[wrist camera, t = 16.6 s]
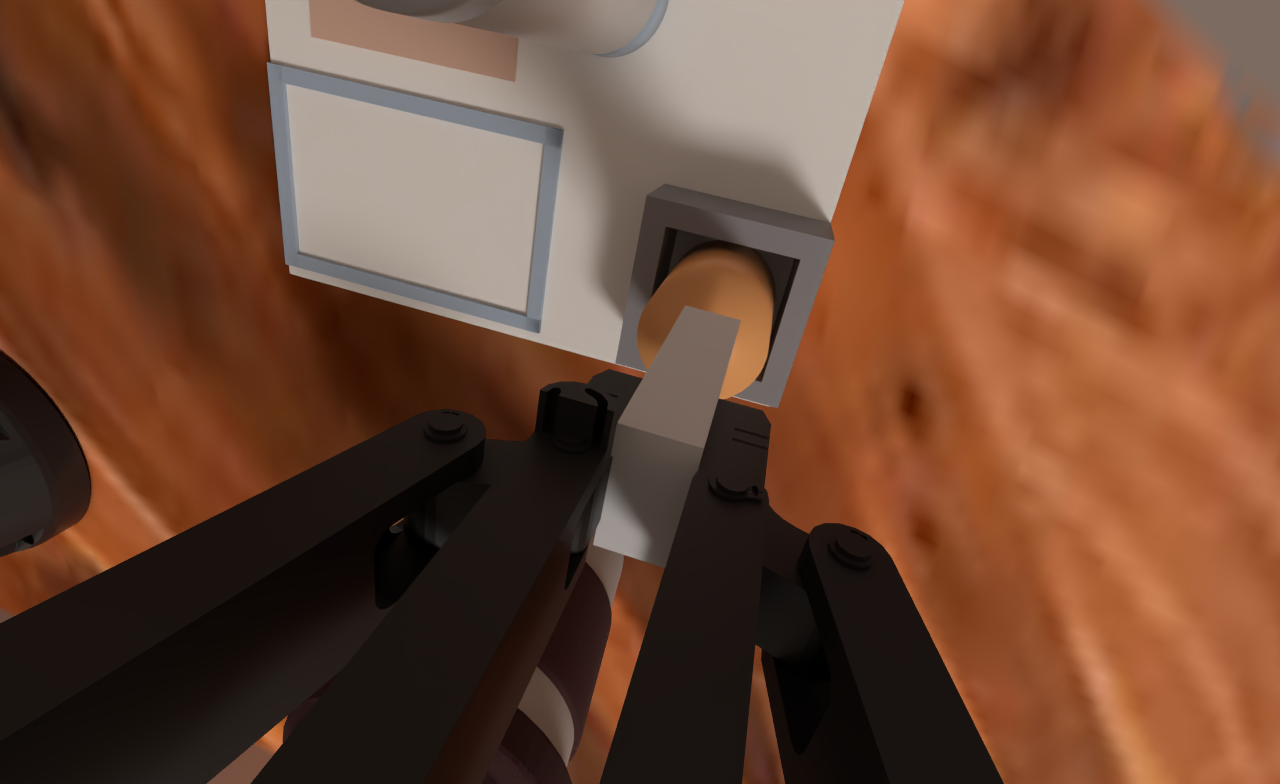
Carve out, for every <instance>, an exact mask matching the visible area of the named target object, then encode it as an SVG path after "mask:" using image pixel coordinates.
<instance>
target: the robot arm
mask: <svg viewBox="0 0 1280 784" xmlns="http://www.w3.org/2000/svg"><path fill="white" fill-rule="evenodd" d="M740 323H741V320H739V319H735V318H731V317H728V316H724V315H720V314H716V313H712V312H709V311H705V310H701V309H697V308H693V307H690V306H686V305H685V307H684V309H683V310H682V312H681V314H680V315H679V317H678V319H677V321H676V322H675V324H674V326H673V328H672V329H671V331H670V333H669V334H668V336H667V338H666V340H665V341H664V343H663V345H662V346H661V348H660V350H659V352H658V353H657V355H656V357H655V359H654V360H653V362H652V364H651V365H650V367H649V369H648V371H647V372H646V374H645V376H644V377H643V379H642V378H639V377H635V376H631V375H628V374H624V373H621V372H617V371H614V370H610V369H609V370H606V371H604V372H602V373H599V374H597V375H595V376H593V377H592V379H591V380H590V381H589V383H588V384H585V383H579V382H557V383H553V384H549V385H547V386H545V387H544V388H542V389H541V390H540V395H539V403H538V411H537V419H536V427H535V431H534V433H533V434H532V435H531V436H530V438H529V439H528V440H527V441H503V440H493V439H485V437H486V429H485V427H484V425H483V423H482V421H480V420H479V419H477V418H476V417H474V416H473V415H471V414H467V413H464V412H461V411H457V410H449V409H442V410H433V411H427V412H424V413H421V414H418V415H416V416H414V417H412V418H410V419H408V420H406V421H404V422H402V423H400V424H398V425H396V426H394V427H392V428H390V429H388V430H386V431H384V432H382V433H380V434H378V435H376V436H374V437H372V438H370V439H368V440H366V441H364V442H362V443H360V444H358V445H356V446H354V447H352V448H350V449H348V450H346V451H344V452H342V453H340V454H338V455H336V456H334V457H332V458H330V459H328V460H326V461H324V462H322V463H320V464H318V465H316V466H314V467H312V468H310V469H308V470H306V471H304V472H302V473H300V474H298V475H296V476H294V477H292V478H290V479H288V480H286V481H284V482H282V483H280V484H278V485H276V486H274V487H272V488H270V489H268V490H266V491H264V492H262V493H260V494H258V495H256V496H254V497H252V498H250V499H248V500H246V501H244V502H242V503H240V504H238V505H236V506H234V507H232V508H230V509H228V510H226V511H224V512H222V513H220V514H218V515H216V516H214V517H212V518H210V519H208V520H206V521H204V522H202V523H200V524H198V525H196V526H194V527H192V528H190V529H188V530H186V531H184V532H182V533H180V534H178V535H176V536H174V537H172V538H170V539H168V540H166V541H164V542H162V543H160V544H158V545H156V546H154V547H152V548H150V549H148V550H146V551H144V552H142V553H140V554H138V555H136V556H134V557H132V558H130V559H128V560H126V561H124V562H122V563H120V564H118V565H116V566H114V567H112V568H110V569H108V570H106V571H104V572H102V573H100V574H98V575H96V576H94V577H92V578H90V579H88V580H86V581H84V582H82V583H80V584H78V585H76V586H74V587H72V588H70V589H68V590H66V591H64V592H62V593H60V594H58V595H56V596H54V597H52V598H50V599H48V600H46V601H44V602H42V603H40V604H38V605H36V606H34V607H32V608H30V609H28V610H26V611H24V612H22V613H20V614H18V615H16V616H14V617H12V618H10V619H8V620H6V621H4V622H2V623H0V784H206V783H208V782H209V781H210V780H211V779H212V778H214V777H215V776H216V775H217V774H218V773H219V772H221V771H222V770H223V769H224V768H226V767H227V766H228V765H229V764H230V763H231V762H232V761H234V760H235V759H236V758H237V757H239V756H240V755H241V754H242V753H243V752H245V751H246V750H247V749H248V748H249V747H250V746H251V745H253V744H254V743H255V742H256V741H258V740H259V739H260V738H261V737H262V736H264V735H265V734H266V733H267V732H268V731H269V730H271V729H272V728H273V727H274V726H275V725H277V724H278V723H279V722H280V721H281V720H283V719H284V718H285V717H286V716H287V715H289V714H290V713H291V712H292V711H293V710H294V709H296V708H297V707H298V706H299V705H300V704H302V703H303V702H304V701H305V700H306V699H308V698H309V697H310V696H311V695H312V694H313V693H315V692H316V691H317V690H318V689H319V688H321V687H322V686H323V685H324V684H325V683H327V682H328V681H329V680H330V679H331V678H332V677H334V676H335V675H336V674H337V673H338V672H340V671H341V670H342V669H343V670H342V671H341V672H340V673H339V675H338V676H337V677H336V678H335V680H334V681H333V682H332V683H331V685H330V686H329V687H328V688H327V689H326V691H325V692H324V693H323V694H322V696H321V697H320V698H319V699H318V701H317V702H316V703H315V704H314V706H313V707H312V708H311V709H310V711H309V712H308V713H307V714H306V716H305V717H304V718H303V719H302V720H301V722H300V723H299V724H298V725H297V727H296V728H295V729H294V730H293V732H292V733H291V734H290V735H289V737H288V738H287V739H286V740H285V742H284V743H283V744H282V745H281V747H280V748H279V749H278V750H277V751H276V753H275V754H274V755H273V756H272V758H271V759H270V760H269V761H268V763H267V764H266V765H265V766H264V768H263V769H262V770H261V771H260V773H259V774H258V775H257V776H256V778H255V779H254V780H253V781H252V783H251V784H482V782H483V780H484V778H485V776H486V774H487V772H488V769H489V767H490V765H491V763H492V761H493V759H494V757H495V755H496V752H497V750H498V748H499V746H500V744H501V742H502V740H503V737H504V735H505V733H506V731H507V729H508V727H509V725H510V723H511V720H512V718H513V716H514V714H515V712H516V710H517V708H518V705H519V703H520V701H521V699H522V697H523V695H524V693H525V691H526V688H527V686H528V684H529V682H530V680H531V678H532V676H533V674H534V671H535V669H536V667H537V665H538V663H539V661H540V659H541V656H542V654H543V652H544V650H545V648H546V646H547V644H548V642H549V639H550V637H551V635H552V633H553V631H554V629H555V627H556V625H557V622H558V620H559V618H560V616H561V614H562V612H563V610H564V607H565V605H566V603H567V601H568V599H569V597H570V595H571V593H572V590H573V588H574V586H575V584H576V582H577V580H578V578H579V576H580V573H581V571H582V569H583V567H584V565H585V561H586V556H587V550H588V545H589V542H590V540H591V538H592V536H593V534H594V532H595V530H596V533H595V538H594V543H593V545H595V546H598V547H602V548H605V549H608V550H611V551H614V552H617V553H620V554H623V555H626V556H629V557H633V558H636V559H639V560H642V561H645V562H648V563H651V564H654V565H657V566H660V567H664V568H665V570H664V573H663V576H662V580H661V583H660V586H659V589H658V593H657V596H656V599H655V603H654V606H653V609H652V613H651V616H650V619H649V622H648V626H647V629H646V632H645V636H644V639H643V642H642V645H641V649H640V652H639V655H638V659H637V662H636V665H635V668H634V672H633V675H632V678H631V682H630V685H629V688H628V691H627V695H626V698H625V701H624V705H623V708H622V711H621V715H620V718H619V721H618V724H617V728H616V731H615V734H614V738H613V741H612V744H611V747H610V751H609V754H608V757H607V761H606V764H605V767H604V770H603V774H602V777H601V780H600V784H742V777H743V767H744V756H745V746H746V736H747V725H748V715H749V704H750V694H751V684H752V673H753V663H754V652H755V644H756V645H757V646H759V647H760V648H762V654H761V661H762V666H763V671H764V676H765V681H766V686H767V692H768V697H769V702H770V707H771V712H772V717H773V723H774V728H775V733H776V738H777V743H778V748H779V753H780V759H781V764H782V769H783V774H784V779H785V784H1004V783H1003V781H1002V779H1001V777H1000V775H999V773H998V771H997V769H996V767H995V765H994V763H993V761H992V759H991V757H990V755H989V753H988V751H987V749H986V747H985V745H984V743H983V741H982V739H981V737H980V735H979V733H978V731H977V729H976V727H975V724H974V722H973V720H972V718H971V716H970V714H969V712H968V710H967V708H966V706H965V704H964V702H963V700H962V698H961V696H960V694H959V692H958V690H957V688H956V686H955V684H954V682H953V680H952V678H951V676H950V674H949V672H948V670H947V668H946V666H945V664H944V662H943V660H942V658H941V656H940V654H939V652H938V650H937V648H936V646H935V644H934V642H933V640H932V638H931V636H930V634H929V632H928V630H927V628H926V626H925V624H924V622H923V620H922V618H921V616H920V614H919V612H918V610H917V608H916V606H915V604H914V602H913V600H912V598H911V596H910V594H909V592H908V590H907V588H906V586H905V584H904V582H903V580H902V578H901V576H900V574H899V572H898V570H897V568H896V566H895V564H894V562H893V560H892V558H891V557H890V555H889V554H888V552H887V551H886V550H885V548H884V547H883V546H882V545H881V544H880V543H878V542H877V541H876V540H875V539H873V538H872V537H871V536H870V535H868V534H866V533H864V532H862V531H860V530H858V529H856V528H854V527H850V526H846V525H843V524H839V523H824V524H821V525H818V526H816V527H814V528H813V529H812V531H811V532H810V534H808V533H806V532H804V531H802V530H800V529H798V528H797V527H795V526H793V525H791V524H790V523H788V522H787V521H785V520H784V519H782V518H781V517H780V516H779V515H778V514H777V513H775V512H774V510H773V509H772V508H771V507H770V505H769V498H768V493H767V490H766V489H765V488H764V485H765V476H766V466H767V457H768V448H769V438H770V429H771V424H770V422H769V421H768V419H767V417H766V415H765V414H764V412H763V411H762V410H758V409H755V408H751V407H747V406H744V405H740V404H737V403H733V402H730V401H726V400H723V399H719V396H720V393H721V389H722V386H723V382H724V379H725V375H726V372H727V368H728V365H729V361H730V358H731V354H732V351H733V347H734V344H735V340H736V337H737V333H738V330H739V326H740ZM90 496H91V487H90V479H89V474H88V470H87V467H86V464H85V461H84V458H83V456H82V453H81V451H80V449H79V447H78V444H77V442H76V441H75V439H74V437H73V435H72V433H71V432H70V430H69V428H68V427H67V425H66V424H65V422H64V421H63V419H62V418H61V416H60V415H59V413H58V412H57V411H56V409H55V408H54V407H53V406H52V404H51V403H50V402H49V401H48V399H47V398H46V397H45V396H44V395H43V394H42V392H41V391H40V390H39V389H38V388H37V387H36V386H35V385H34V384H33V383H32V382H31V381H30V380H29V379H28V378H27V377H26V376H25V375H24V374H23V373H22V372H21V371H20V370H18V369H17V368H16V367H15V366H14V365H13V364H11V363H10V362H9V361H8V360H7V359H5V358H4V357H3V356H1V355H0V557H2V556H5V555H8V554H11V553H13V552H17V551H22V550H26V549H29V548H32V547H35V546H37V545H40V544H42V543H44V542H46V541H47V540H49V539H51V538H52V537H54V536H56V535H58V534H59V533H61V532H63V531H64V530H66V529H68V528H70V527H71V526H73V525H75V524H76V523H78V522H79V521H80V520H81V519H82V518H83V517H84V515H85V514H86V512H87V510H88V507H89V503H90ZM403 517H404V520H402V521H401V522H399V523H398V524H396V525H394V526H392V525H393V524H394V523H396V522H397V521H399V520H400V519H402V518H403ZM391 526H392V527H391Z"/></svg>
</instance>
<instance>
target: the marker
mask: <svg viewBox="0 0 1280 784" xmlns="http://www.w3.org/2000/svg"><path fill="white" fill-rule="evenodd" d="M355 1H357V2H359V3H361V4H363V5H366V6H369V7H372V8H375V9H378V10H382V11H387V12H391V13H396V14H400V15H405V16H410V17H414V18H419V19H423V20H428V21H434V22H441V23H455V24H459V25H464V26H468V27H472V28H477V29H481V30H486V31H490V32H495V33H499V34H503V35H508V36H512V37H517V38H521V39H525V40H530V41H534V42H539V43H543V44H547V45H552V46H556V47H561V48H565V49H570V50H574V51H578V52H583V53H587V54H592V55H596V56H601V57H620V56H624V55H627V54H630V53H632V52H634V51H636V50H637V49H639V48H640V47H642V46H643V45H644V44H645V43H646V42H647V41H649V40H650V38H651V37H652V36H653V35H654V34H655V32H656V31H657V29H658V28H659V26H660V24H661V22H662V20H663V18H664V15H665V13H666V10H667V6H668V2H669V0H355Z"/></svg>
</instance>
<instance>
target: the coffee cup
mask: <svg viewBox="0 0 1280 784" xmlns="http://www.w3.org/2000/svg"><path fill="white" fill-rule="evenodd" d="M595 533H596V530H595V532H594V534H593V536H592V538H591V540H590V542H589V545H588V550H587V556H586V561H585V565H584V567H583V569H582V571H581V573H580V576H579V578H578V580H577V582H576V584H575V586H574V588H573V590H572V593H571V595H570V597H569V599H568V601H567V603H566V605H565V607H564V610H563V612H562V614H561V616H560V618H559V620H558V622H557V625H556V627H555V629H554V631H553V633H552V635H551V637H550V639H549V642H548V644H547V646H546V648H545V650H544V652H543V654H542V656H541V659H540V661H539V663H538V665H537V667H536V669H535V671H534V674H533V676H532V678H531V680H530V682H529V684H528V686H527V688H526V691H525V693H524V695H523V697H522V699H521V701H520V703H519V705H518V708H517V710H516V712H515V714H514V716H513V718H512V720H511V723H510V725H509V727H508V729H507V731H506V733H505V735H504V737H503V740H502V742H501V744H500V746H499V748H498V750H497V752H496V755H495V757H494V759H493V761H492V763H491V765H490V767H489V769H488V772H487V774H486V776H485V778H484V780H483V782H482V784H572V782H571V779H570V777H569V774H568V771H567V765H568V763H569V762H570V761H571V759H572V758H573V756H574V754H575V753H576V751H577V748H578V746H579V743H580V740H581V736H582V733H583V729H584V725H585V722H586V718H587V714H588V710H589V707H590V703H591V699H592V695H593V692H594V688H595V684H596V680H597V677H598V673H599V669H600V665H601V662H602V658H603V654H604V650H605V647H606V643H607V639H608V636H609V631H610V627H611V607H612V603H613V600H614V596H615V592H616V589H617V585H618V582H619V578H620V574H621V571H622V567H623V557H624V555H623V554H620V553H617V552H614V551H611V550H608V549H605V548H602V547H598V546H595V545H593V543H594V538H595ZM342 670H343V669H342ZM342 670H341V671H342ZM341 671H340V672H341ZM340 672H338V673H337V674H336V675H335V676H334V677H332V678H331V679H330V680H329V681H328V682H327V683H325V684H324V685H323V686H322V687H321V688H319V689H318V690H317V691H316V692H315V693H313V694H312V695H311V696H310V697H309V698H308V699H306V700H305V701H304V702H303V703H302V704H300V705H299V706H298V707H297V708H296V709H294V710H293V711H292V712H291V713H290V714H289V715H288V717H287V720H286V722H285V725H284V731H283V743H284V742H285V740H286V739H287V738H288V737H289V735H290V734H291V733H292V732H293V730H294V729H295V728H296V727H297V725H298V724H299V723H300V722H301V720H302V719H303V718H304V717H305V716H306V714H307V713H308V712H309V711H310V709H311V708H312V707H313V706H314V704H315V703H316V702H317V701H318V699H319V698H320V697H321V696H322V694H323V693H324V692H325V691H326V689H327V688H328V687H329V686H330V685H331V683H332V682H333V681H334V680H335V678H336V677H337V676H338V675H339V673H340Z"/></svg>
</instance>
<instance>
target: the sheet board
mask: <svg viewBox="0 0 1280 784" xmlns="http://www.w3.org/2000/svg"><path fill="white" fill-rule="evenodd" d="M265 3H266V14H267V26H268V37H269V48H270V59H271V62H267V69H268V80H269V91H270V102H271V113H272V123H273V134H274V145H275V156H276V167H277V177H278V188H279V199H280V210H281V221H282V231H283V242H284V253H285V264H287V265H289V270H290V274H293V275H297V276H300V277H304V278H307V279H311V280H315V281H318V282H322V283H325V284H329V285H333V286H336V287H340V288H343V289H347V290H351V291H354V292H358V293H361V294H365V295H369V296H372V297H376V298H379V299H383V300H387V301H390V302H394V303H397V304H401V305H405V306H408V307H412V308H416V309H419V310H423V311H426V312H430V313H434V314H437V315H441V316H444V317H448V318H452V319H455V320H459V321H462V322H466V323H470V324H473V325H477V326H480V327H484V328H488V329H491V330H495V331H498V332H502V333H506V334H509V335H513V336H516V337H520V338H524V339H527V340H531V341H535V342H538V343H542V344H545V345H549V346H553V347H556V348H560V349H563V350H567V351H571V352H574V353H578V354H581V355H585V356H589V357H592V358H596V359H599V360H603V361H607V362H610V363H614V364H617V365H621V366H625V367H628V368H632V369H635V370H639V371H643V372H647V369H646V368H645V366H644V364H643V362H642V359H641V357H640V354H639V350H638V345H637V329H638V323H639V319H640V316H641V314H642V312H643V310H644V308H645V306H646V305H647V303H648V302H649V300H650V299H651V298H652V296H653V295H654V294H655V292H656V291H657V290H658V288H659V287H660V286H661V284H662V283H663V282H664V280H665V279H666V277H667V276H668V275H669V273H670V272H671V271H672V269H673V268H674V267H675V265H676V264H677V263H678V261H679V260H680V259H681V258H682V256H683V255H685V254H686V253H687V252H688V251H689V250H691V249H692V248H693V247H695V246H697V245H699V244H701V243H704V242H707V241H711V240H723V241H727V242H731V243H735V244H739V245H743V246H747V247H750V248H752V249H753V250H755V251H756V252H757V253H758V254H759V255H760V256H761V257H762V258H763V259H764V260H765V261H766V263H767V264H768V266H769V268H770V270H771V272H772V275H773V278H774V282H775V302H774V310H773V318H772V326H771V334H770V342H769V349H768V355H767V359H766V362H765V364H764V367H763V369H762V370H761V372H760V374H759V375H758V377H757V378H756V379H755V380H754V381H753V382H752V383H751V384H750V385H749V386H748V387H747V388H746V389H744V390H743V391H741V392H740V393H738V394H736V395H734V396H733V397H736V398H740V399H744V400H747V401H751V402H754V403H758V404H762V405H765V406H771V407H775V408H778V406H779V403H780V400H781V397H782V394H783V391H784V388H785V385H786V382H787V379H788V376H789V374H790V371H791V368H792V365H793V362H794V359H795V356H796V353H797V350H798V347H799V344H800V341H801V338H802V335H803V332H804V329H805V326H806V324H807V321H808V318H809V315H810V312H811V309H812V306H813V303H814V300H815V297H816V294H817V291H818V288H819V285H820V282H821V279H822V277H823V274H824V271H825V268H826V265H827V262H828V259H829V256H830V253H831V250H832V247H833V244H834V241H835V240H834V236H833V231H832V227H831V220H832V217H833V214H834V211H835V208H836V205H837V202H838V199H839V196H840V193H841V190H842V187H843V184H844V181H845V178H846V175H847V172H848V169H849V166H850V163H851V160H852V157H853V154H854V151H855V148H856V145H857V142H858V139H859V136H860V132H861V129H862V126H863V123H864V120H865V117H866V114H867V111H868V108H869V105H870V102H871V99H872V96H873V93H874V90H875V87H876V84H877V81H878V78H879V75H880V72H881V69H882V66H883V63H884V60H885V57H886V54H887V51H888V48H889V45H890V42H891V39H892V36H893V33H894V30H895V27H896V24H897V21H898V18H899V15H900V12H901V9H902V6H903V3H904V0H669V2H668V6H667V10H666V13H665V15H664V18H663V20H662V22H661V24H660V26H659V28H658V29H657V31H656V32H655V34H654V35H653V36H652V37H651V38H650V40H649V41H647V42H646V43H645V44H644V45H643V46H642V47H640V48H639V49H637V50H636V51H634V52H632V53H630V54H627V55H624V56H620V57H601V56H596V55H592V54H587V53H583V52H578V51H574V50H570V49H565V48H561V47H556V46H552V45H547V44H543V43H539V42H534V41H530V40H525V39H521V38H517V37H512V36H508V35H503V34H499V33H495V32H490V31H486V30H481V29H477V28H472V27H468V26H464V25H459V24H455V23H441V22H434V21H428V20H423V19H419V18H414V17H410V16H405V15H400V14H396V13H391V12H387V11H382V10H378V9H375V8H372V7H369V6H366V5H363V4H361V3H359V2H357V1H355V0H265Z"/></svg>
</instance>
